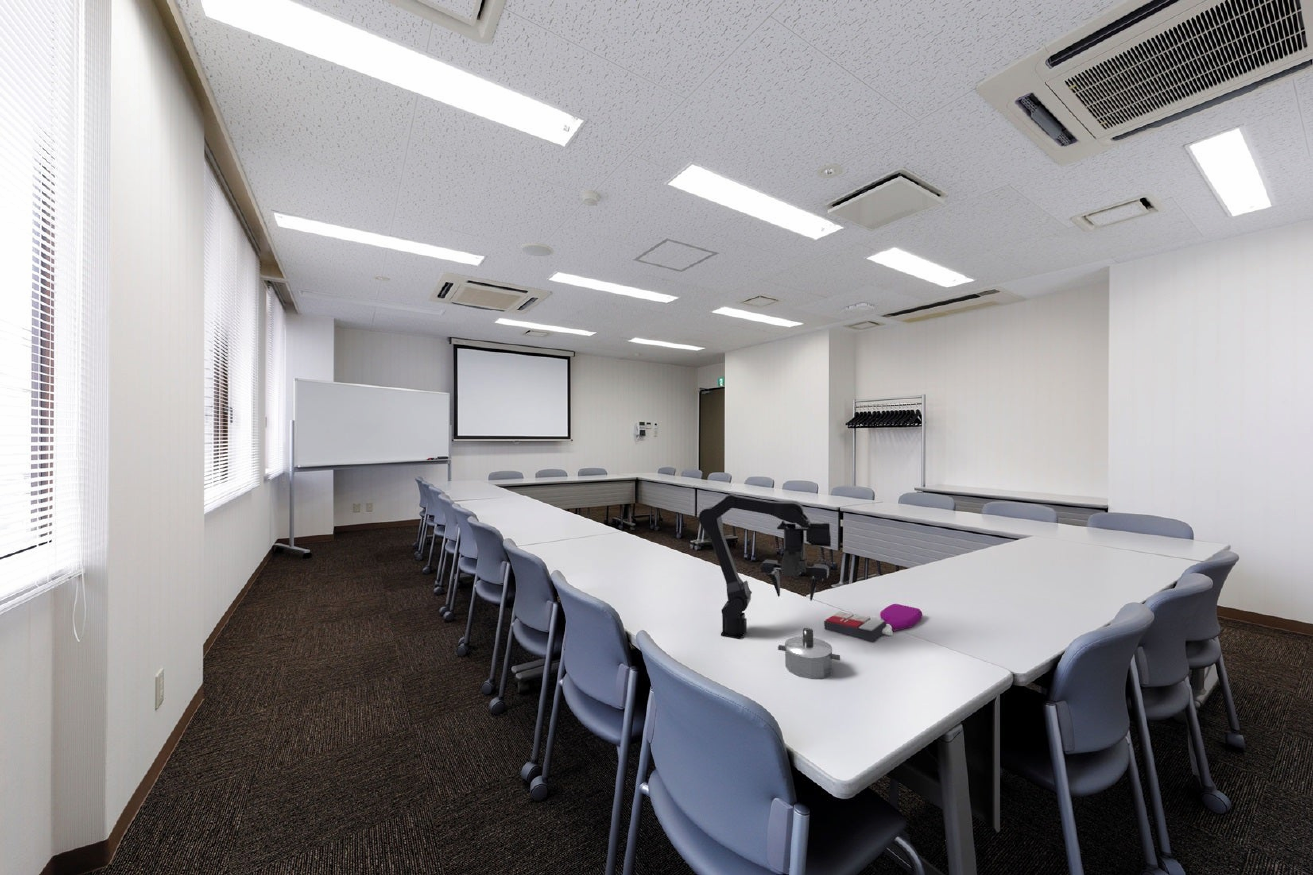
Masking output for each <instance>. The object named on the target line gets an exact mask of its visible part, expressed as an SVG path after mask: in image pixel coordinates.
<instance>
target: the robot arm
mask: <svg viewBox="0 0 1313 875" xmlns="http://www.w3.org/2000/svg"><path fill="white" fill-rule="evenodd" d="M731 509H737V510H742V511H747V512H753V513H759V514H765V515H768V516H772V517H775V518H777V519H779V520H782V521H781V523H779V524H778V525H777V527H776V529H777V530H783V556H782V559H781V562H780V563H778V560H777V559H767V558H766V559H765V560H764V561H762V563H760V573H763V574H764V575H765V576H768V577H769V578H770V580H771V582H772V583H773V586H774V589H775V592H776V596H777V597H778V598H779V597H780V596H781V582H780V571H781V575H782V576H785V577H786V576H788V577H789V576H790V577H795V578H798V577H799V576H800V573H801V574H802V573H803V574H811V575H812V577H811V579H810V580H811V581H810V594H809V600H810V601H812V600H813V598H814V595H815V593H816V589H817V586H818V583H819V582H823V581H824V580H825V579H826V580H827V579H828V577H829V576H830V568H829V566H828V565H827V564H823V563H822V564H820V563H814V564H813V566H808V562H807V561H808V560H807V559H806V558H805V542H806V543H808V545H809V544H810V546H811V547H824V548H825V547H827V548H831V546H832V545H831V544H832V542H831V539H832V538H831V530H830V529H831V527H830V526H831V525H830V522H811V520H810V518H808V516H807V515H806V514H805V509H804V506H803V504H801V502H799V501H797V500H795V501H794V500H782V501H781V500H780V501H779V500H778V501H772V500H765V499H759V498H754V497H747V496H744V495H743V496H741V495H737V494H734V493H731V494H728V495H727V496H725V497H724V498H723V499H722V500H721V501H719V502H718V503H716V504H715V505H712V506H708V507H706V508H704V509H703V510H701V511H700V513H699V515H698V522H699V524H700V525H701V527H702V529H703V531H704V533H705V534H706V535H707V537H708V538H709V539H710V541H711V544H712V547H713V549H714V552H715V555H716V559H717V561H718V564H719V566H720V570H721V571H722V575H723V577H724V580H725V584H726V596H727V601H726V602H725V603H724V605H723V607H722V608H721V618H722V619H721V620H722V623H721V624H722V627H721V628H722V631H721V632H720V635H721V636H723V637H730V638H734V639H735V638H736V639H742V638H743V637H744V636H745V635H746V634H747V632H748V626H747V624H748V623H747V622H748V621H747V620H748V619H747V618H746V612H745V611H746V610H747V608H748V607H749V605H750V602H751V599H752V592H753V591H751V589H750V587H749V582H748V580H745V581H743V580H742V579H741V577H740V576H739V574H738V573H739V572H738V570H737V567H736V564H735V562H734V559H733V557H732V556H733V555H732V554H731V553H732V552H731V551H730V548H729V545H728V543H727V540H726V537H725V534H724V524H723V518H722V516H723V515H724V514H726V513H727V512H728V511H730V510H731ZM805 533H806V534H805ZM805 540H806V541H805Z"/></svg>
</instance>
